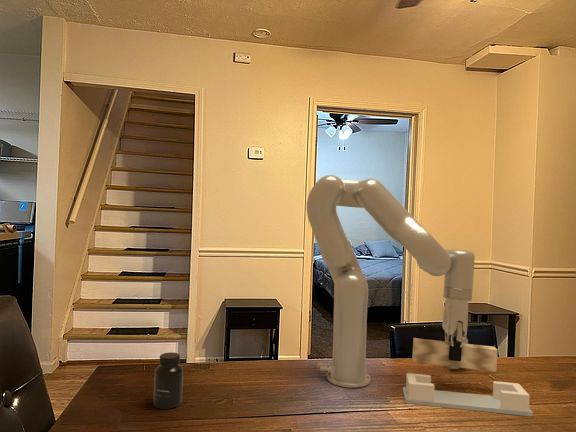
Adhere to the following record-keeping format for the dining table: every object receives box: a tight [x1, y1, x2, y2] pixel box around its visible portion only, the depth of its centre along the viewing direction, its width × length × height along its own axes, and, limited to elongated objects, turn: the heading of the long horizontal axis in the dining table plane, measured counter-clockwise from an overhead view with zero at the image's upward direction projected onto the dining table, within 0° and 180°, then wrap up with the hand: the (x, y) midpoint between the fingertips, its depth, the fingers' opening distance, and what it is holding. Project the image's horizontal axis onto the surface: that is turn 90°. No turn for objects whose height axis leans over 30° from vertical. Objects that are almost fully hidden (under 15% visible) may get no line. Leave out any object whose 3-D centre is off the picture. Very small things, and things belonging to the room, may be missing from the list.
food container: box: [444, 331, 469, 372], centre depth 135 cm, size 12×6×10 cm, turn 168°
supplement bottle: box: [153, 352, 184, 410], centre depth 103 cm, size 7×7×12 cm
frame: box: [402, 372, 534, 418], centre depth 109 cm, size 30×8×5 cm, turn 79°
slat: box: [411, 337, 499, 373], centre depth 119 cm, size 22×3×6 cm, turn 79°
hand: (453, 357), depth 119 cm, fingers closed on slat, 3 cm apart
